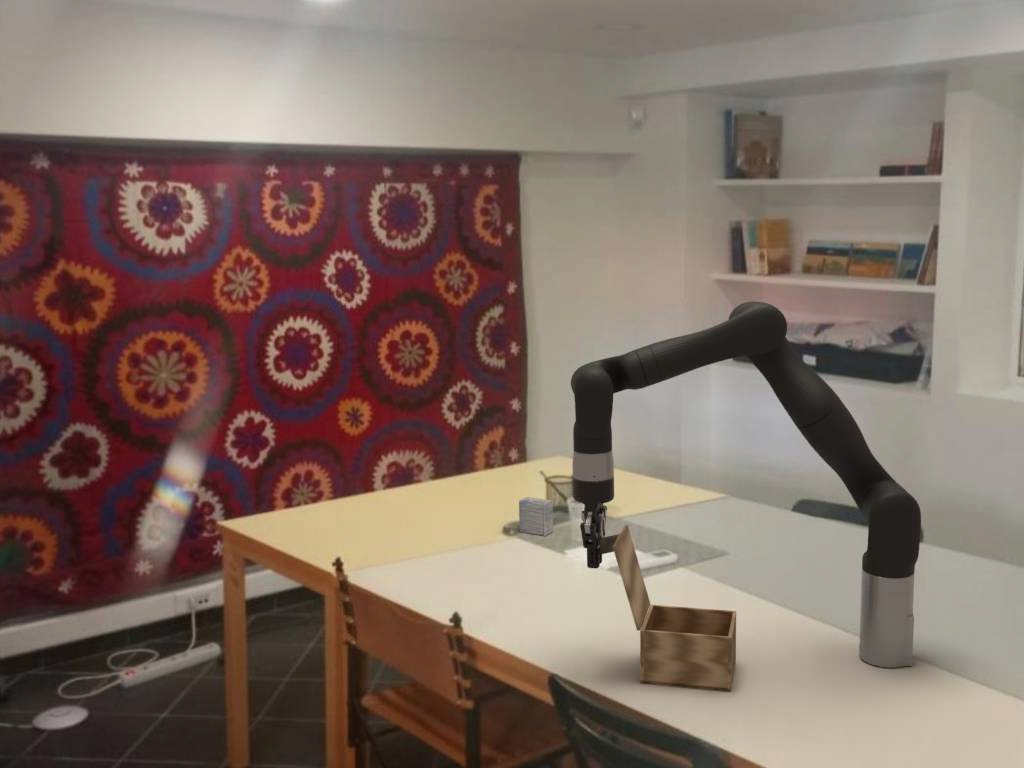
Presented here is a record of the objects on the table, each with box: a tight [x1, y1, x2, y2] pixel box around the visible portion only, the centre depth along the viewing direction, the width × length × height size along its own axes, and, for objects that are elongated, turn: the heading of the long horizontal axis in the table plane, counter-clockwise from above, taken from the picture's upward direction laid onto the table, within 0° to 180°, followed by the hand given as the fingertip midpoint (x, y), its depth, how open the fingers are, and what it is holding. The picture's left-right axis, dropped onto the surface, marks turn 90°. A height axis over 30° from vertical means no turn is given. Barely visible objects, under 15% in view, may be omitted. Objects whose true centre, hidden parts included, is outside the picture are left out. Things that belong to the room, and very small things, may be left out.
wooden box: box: [639, 604, 737, 693], centre depth 202 cm, size 16×13×10 cm
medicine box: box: [518, 496, 554, 537], centre depth 289 cm, size 8×4×9 cm, turn 58°
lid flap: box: [599, 524, 651, 631], centre depth 204 cm, size 16×13×6 cm
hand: (594, 564), depth 205 cm, fingers closed on lid flap, 2 cm apart
